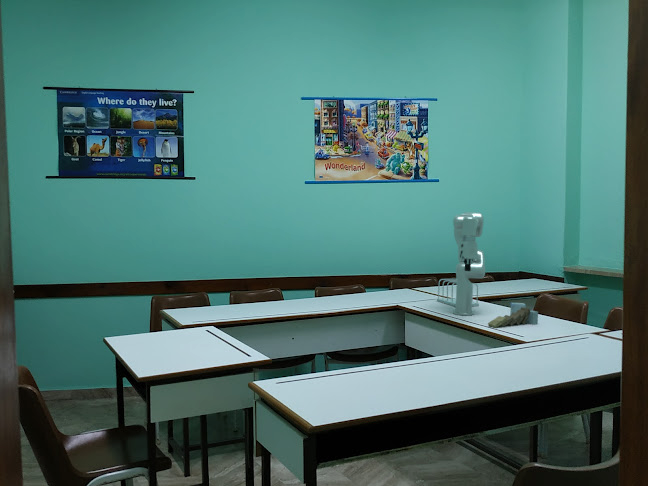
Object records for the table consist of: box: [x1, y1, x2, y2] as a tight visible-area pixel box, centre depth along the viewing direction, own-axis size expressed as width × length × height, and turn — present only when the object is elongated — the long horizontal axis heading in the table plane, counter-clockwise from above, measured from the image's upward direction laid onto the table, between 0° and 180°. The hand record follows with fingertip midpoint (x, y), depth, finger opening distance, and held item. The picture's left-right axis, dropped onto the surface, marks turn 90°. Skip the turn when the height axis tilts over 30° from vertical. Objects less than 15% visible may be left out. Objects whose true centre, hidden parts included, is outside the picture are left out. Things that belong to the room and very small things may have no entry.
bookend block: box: [519, 309, 539, 326], centre depth 358 cm, size 4×10×7 cm, turn 32°
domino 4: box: [514, 310, 527, 326], centre depth 353 cm, size 2×5×9 cm
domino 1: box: [487, 315, 507, 329], centre depth 345 cm, size 2×5×9 cm
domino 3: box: [506, 312, 521, 327], centre depth 351 cm, size 2×5×9 cm
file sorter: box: [436, 278, 480, 308], centre depth 421 cm, size 25×17×16 cm
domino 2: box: [499, 314, 514, 328], centre depth 348 cm, size 2×5×9 cm
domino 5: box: [520, 307, 531, 325], centre depth 355 cm, size 2×5×9 cm, turn 32°
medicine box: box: [509, 302, 527, 316], centre depth 373 cm, size 8×4×9 cm, turn 84°
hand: (467, 270), depth 356 cm, fingers closed
